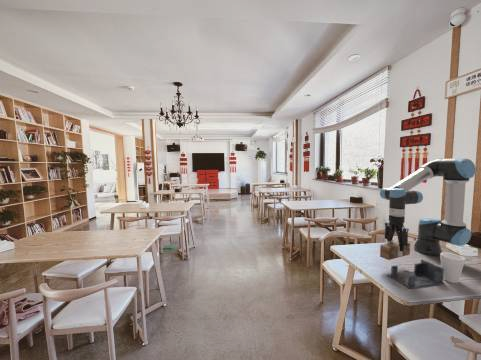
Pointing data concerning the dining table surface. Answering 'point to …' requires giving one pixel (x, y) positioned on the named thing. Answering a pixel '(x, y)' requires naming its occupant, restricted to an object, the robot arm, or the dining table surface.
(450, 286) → the dining table surface
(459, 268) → the foam cup
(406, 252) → the brown wooden block
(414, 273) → the bracket board
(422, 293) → the dining table surface
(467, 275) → the dining table surface
